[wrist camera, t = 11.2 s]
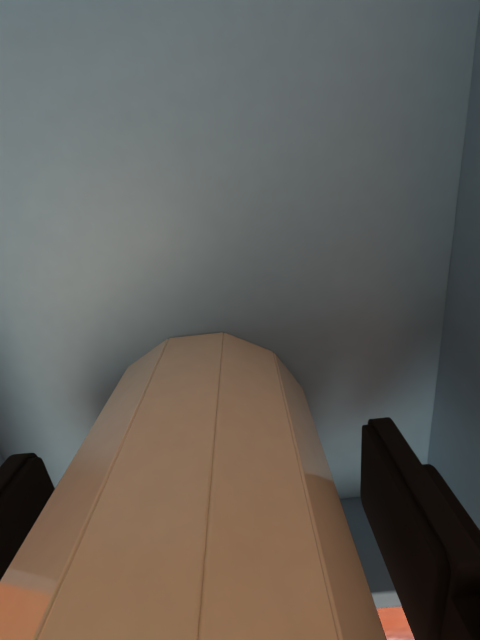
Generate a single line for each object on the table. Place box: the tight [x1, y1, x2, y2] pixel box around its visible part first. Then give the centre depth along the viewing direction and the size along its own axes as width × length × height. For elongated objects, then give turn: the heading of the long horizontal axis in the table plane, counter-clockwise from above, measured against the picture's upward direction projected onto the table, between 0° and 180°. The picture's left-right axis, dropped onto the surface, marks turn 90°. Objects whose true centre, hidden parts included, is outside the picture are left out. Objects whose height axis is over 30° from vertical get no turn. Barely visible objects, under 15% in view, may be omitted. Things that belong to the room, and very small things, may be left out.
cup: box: [0, 332, 387, 640], centre depth 8 cm, size 7×7×9 cm
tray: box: [0, 0, 480, 608], centre depth 9 cm, size 20×18×4 cm
